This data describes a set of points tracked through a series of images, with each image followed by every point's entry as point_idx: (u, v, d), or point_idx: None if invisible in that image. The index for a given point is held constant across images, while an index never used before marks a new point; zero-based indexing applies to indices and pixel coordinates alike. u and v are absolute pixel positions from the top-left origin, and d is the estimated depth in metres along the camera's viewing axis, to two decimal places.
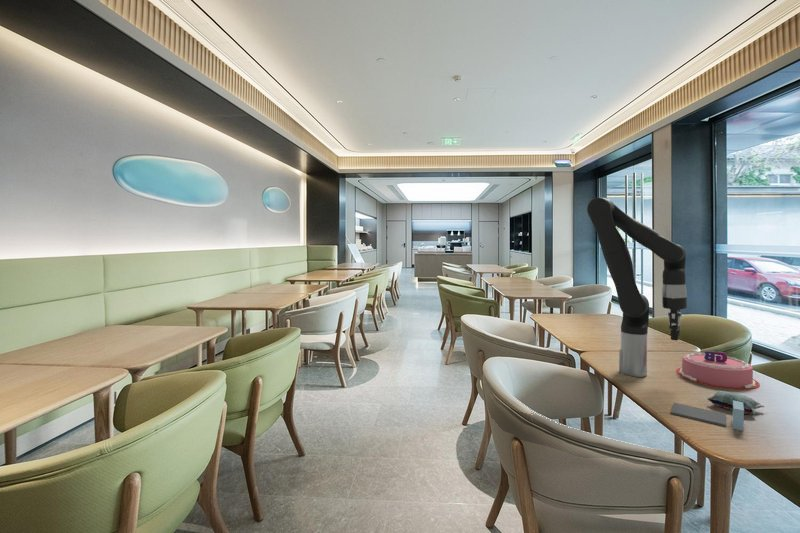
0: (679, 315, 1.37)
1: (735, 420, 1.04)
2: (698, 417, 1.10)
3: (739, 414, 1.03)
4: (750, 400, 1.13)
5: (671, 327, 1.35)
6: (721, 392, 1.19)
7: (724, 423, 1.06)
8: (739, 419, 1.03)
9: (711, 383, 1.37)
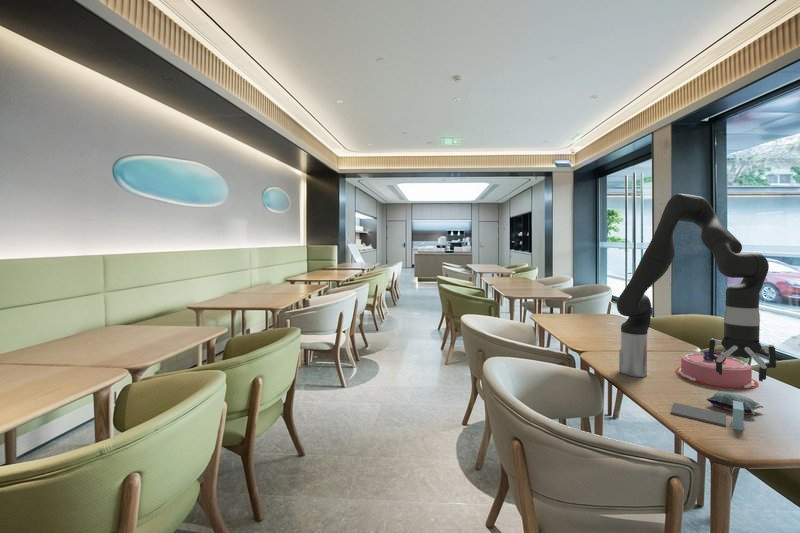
0: None
1: (735, 420, 1.04)
2: (698, 417, 1.10)
3: (739, 414, 1.03)
4: (749, 400, 1.13)
5: None
6: (720, 392, 1.18)
7: (724, 423, 1.06)
8: (739, 419, 1.03)
9: (710, 383, 1.37)
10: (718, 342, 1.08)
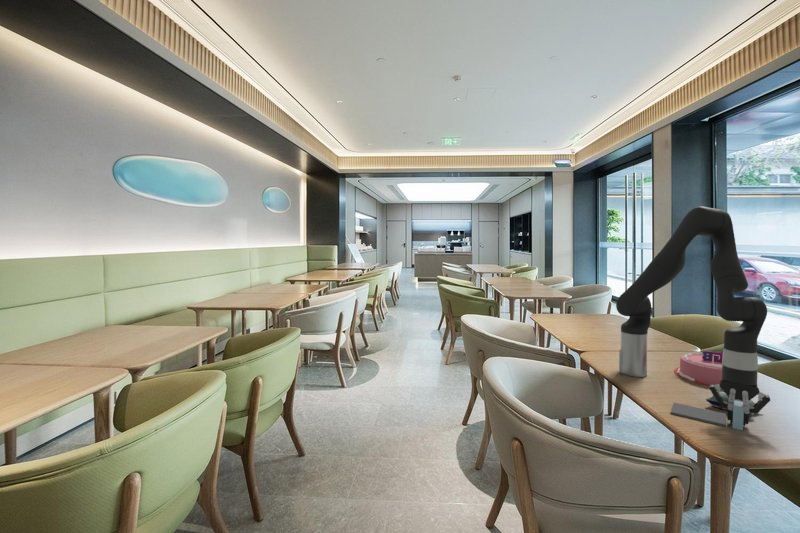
0: None
1: (735, 420, 1.04)
2: (698, 417, 1.10)
3: (739, 414, 1.03)
4: None
5: None
6: (719, 393, 1.18)
7: (724, 423, 1.06)
8: (739, 419, 1.03)
9: (709, 383, 1.37)
10: (718, 387, 1.08)
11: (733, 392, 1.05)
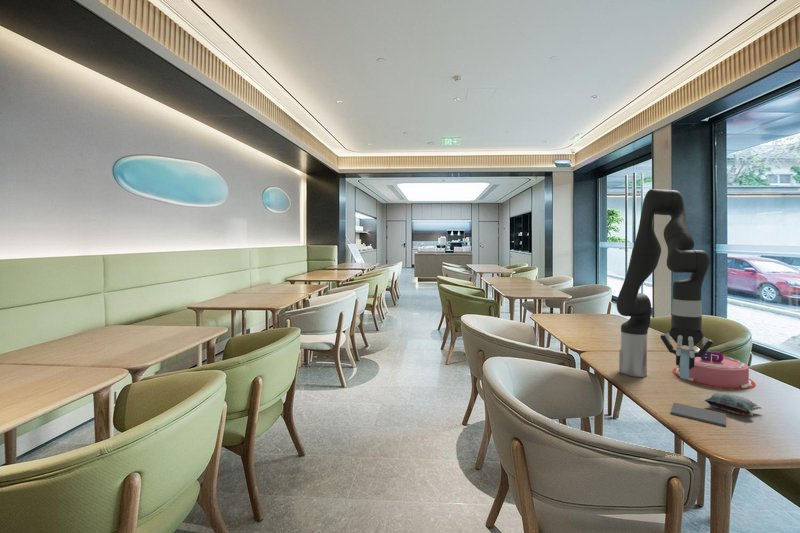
0: None
1: (682, 372, 1.13)
2: (698, 417, 1.10)
3: (685, 368, 1.12)
4: (747, 401, 1.12)
5: None
6: (718, 393, 1.18)
7: (724, 423, 1.06)
8: (685, 372, 1.12)
9: (708, 383, 1.37)
10: (668, 335, 1.17)
11: (680, 338, 1.13)
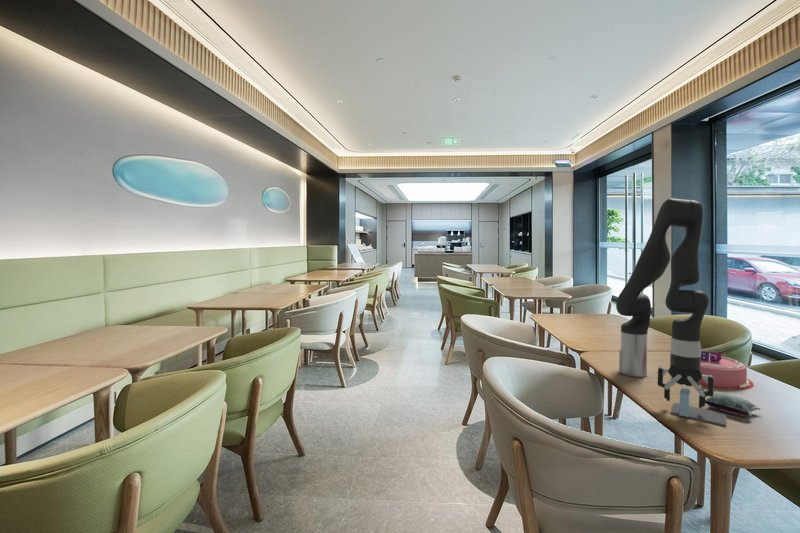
0: None
1: None
2: (698, 417, 1.10)
3: None
4: (746, 402, 1.12)
5: None
6: (717, 394, 1.17)
7: (724, 423, 1.06)
8: None
9: (706, 383, 1.37)
10: (666, 371, 1.17)
11: (678, 377, 1.14)
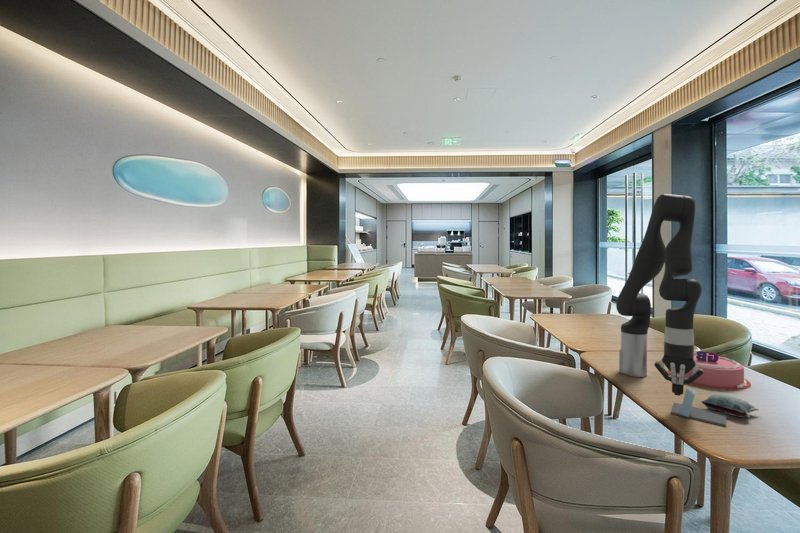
0: None
1: None
2: (698, 417, 1.10)
3: None
4: (744, 403, 1.11)
5: None
6: (715, 395, 1.17)
7: (724, 423, 1.06)
8: None
9: (704, 383, 1.37)
10: (661, 363, 1.18)
11: (673, 366, 1.15)
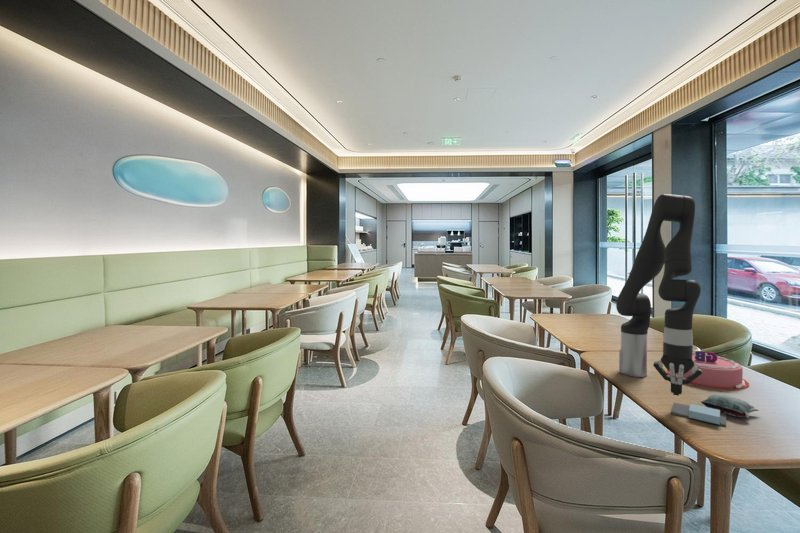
0: None
1: (689, 408, 1.13)
2: None
3: (689, 412, 1.11)
4: (744, 403, 1.11)
5: None
6: (715, 395, 1.16)
7: (724, 423, 1.06)
8: None
9: (703, 383, 1.36)
10: (660, 363, 1.19)
11: (672, 366, 1.15)
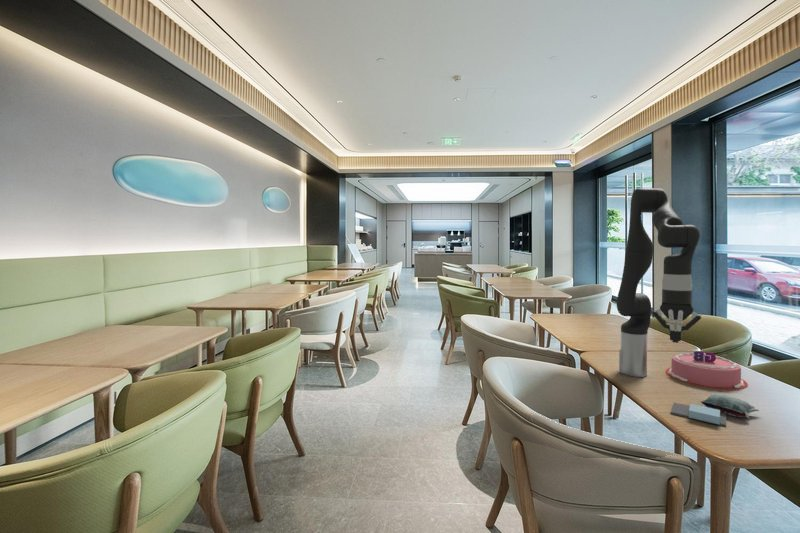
0: None
1: (689, 408, 1.13)
2: None
3: (689, 412, 1.11)
4: (744, 404, 1.11)
5: None
6: (715, 395, 1.16)
7: (724, 423, 1.06)
8: None
9: (702, 383, 1.36)
10: (659, 311, 1.18)
11: (671, 313, 1.15)
